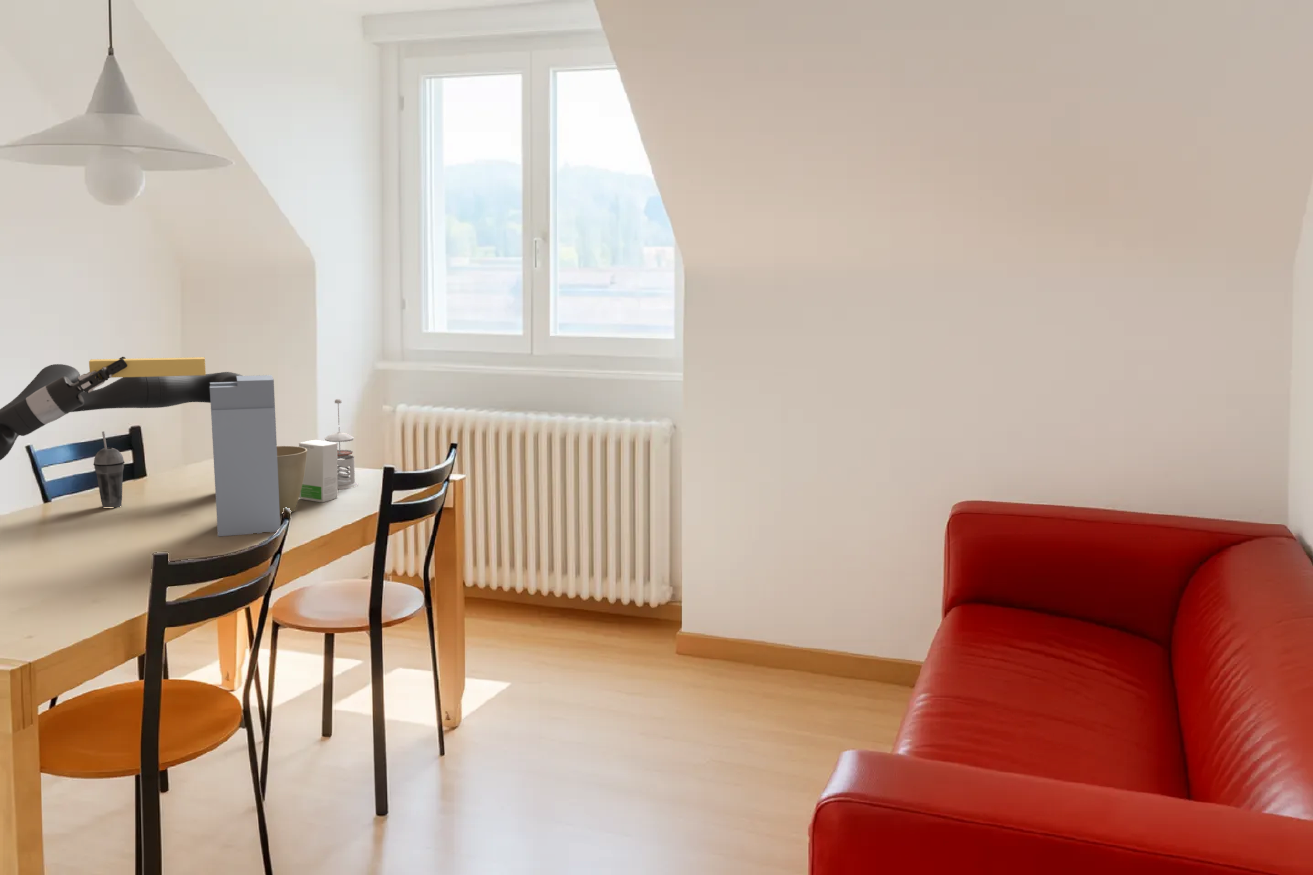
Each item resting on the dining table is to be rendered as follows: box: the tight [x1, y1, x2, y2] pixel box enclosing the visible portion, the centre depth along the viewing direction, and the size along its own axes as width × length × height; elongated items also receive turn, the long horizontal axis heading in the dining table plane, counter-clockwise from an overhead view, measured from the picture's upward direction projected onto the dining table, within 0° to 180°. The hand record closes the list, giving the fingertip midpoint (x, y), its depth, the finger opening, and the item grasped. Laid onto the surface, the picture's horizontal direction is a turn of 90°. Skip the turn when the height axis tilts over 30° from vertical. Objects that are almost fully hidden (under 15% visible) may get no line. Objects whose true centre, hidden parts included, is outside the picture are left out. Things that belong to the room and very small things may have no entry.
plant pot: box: [277, 445, 307, 515], centre depth 283 cm, size 15×15×16 cm
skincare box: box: [298, 439, 338, 503], centre depth 298 cm, size 8×7×16 cm
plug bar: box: [88, 356, 207, 379], centre depth 253 cm, size 24×4×4 cm, turn 112°
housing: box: [210, 374, 281, 537], centre depth 264 cm, size 14×11×37 cm
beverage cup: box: [93, 431, 125, 508], centre depth 285 cm, size 7×7×20 cm
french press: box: [324, 398, 359, 490], centre depth 314 cm, size 10×12×25 cm
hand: (125, 361), depth 251 cm, fingers closed on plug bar, 3 cm apart
